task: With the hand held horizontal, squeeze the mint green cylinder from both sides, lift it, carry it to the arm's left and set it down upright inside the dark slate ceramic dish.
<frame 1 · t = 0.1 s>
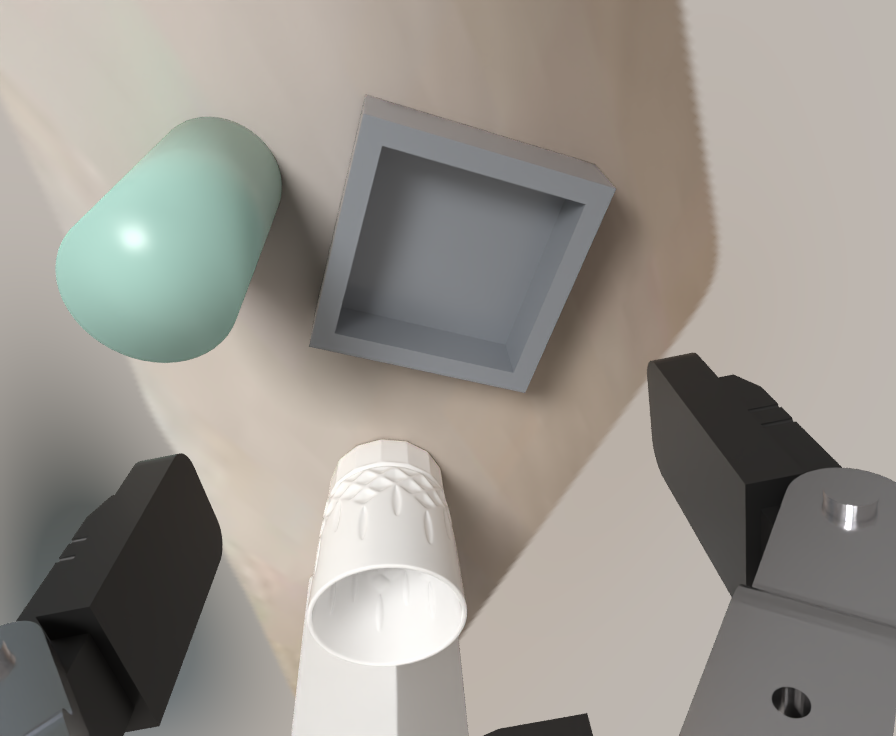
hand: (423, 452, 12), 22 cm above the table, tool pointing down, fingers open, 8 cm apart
mint green cylinder: (219, 180, 31), on the table
white cup: (387, 478, 42), on the table
milk carton: (382, 578, 47), on the table
dish: (448, 241, 33), on the table
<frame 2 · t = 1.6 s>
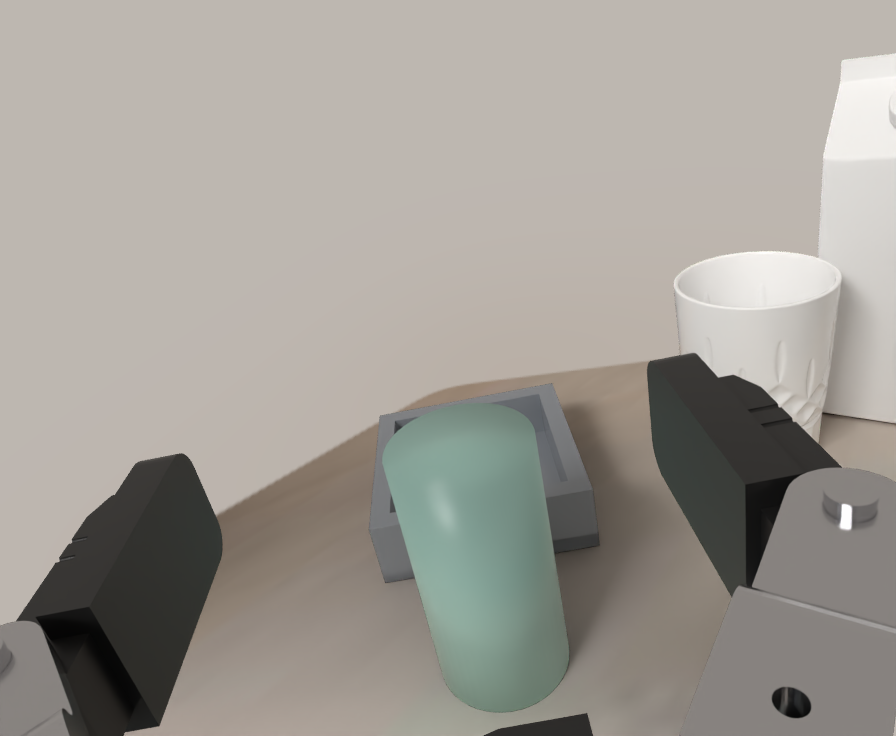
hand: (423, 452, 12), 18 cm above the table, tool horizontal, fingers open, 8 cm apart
mint green cylinder: (504, 653, 29), on the table
white cup: (752, 441, 40), on the table
milk carton: (887, 395, 41), on the table
dish: (482, 497, 39), on the table
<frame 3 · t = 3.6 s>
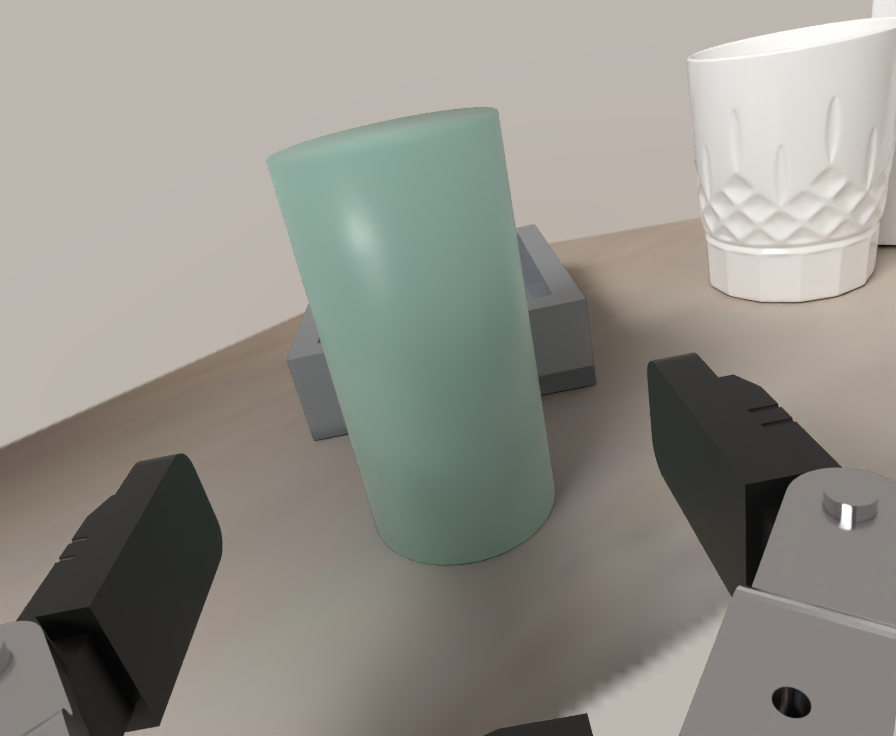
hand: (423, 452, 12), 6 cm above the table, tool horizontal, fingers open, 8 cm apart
mint green cylinder: (464, 500, 21), on the table
white cup: (787, 279, 31), on the table
dish: (446, 353, 31), on the table
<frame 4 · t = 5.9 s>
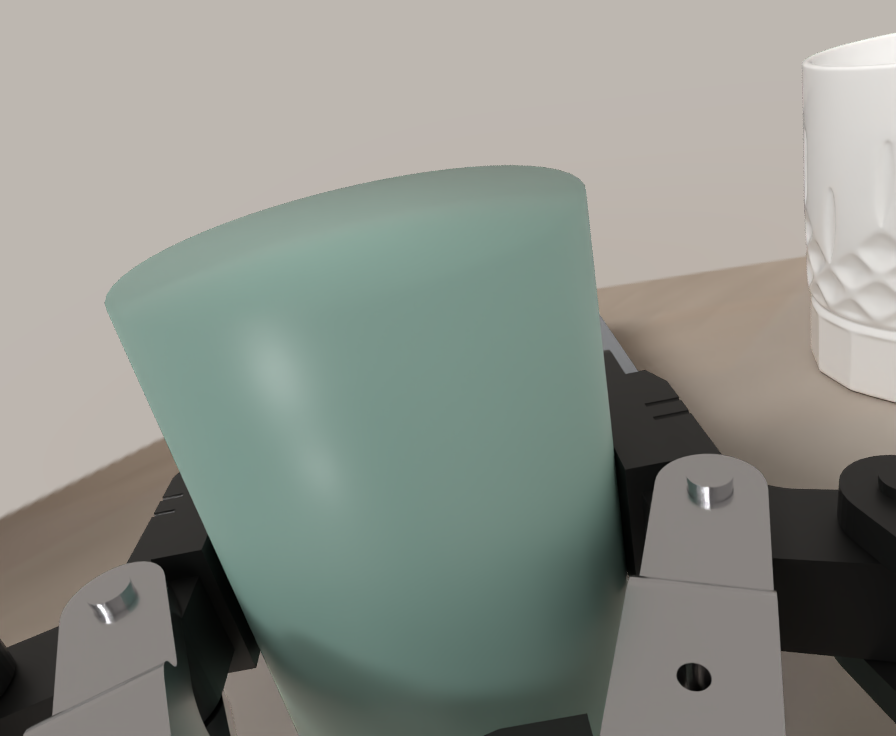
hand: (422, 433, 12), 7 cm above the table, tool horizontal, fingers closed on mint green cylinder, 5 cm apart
dish: (461, 464, 23), on the table
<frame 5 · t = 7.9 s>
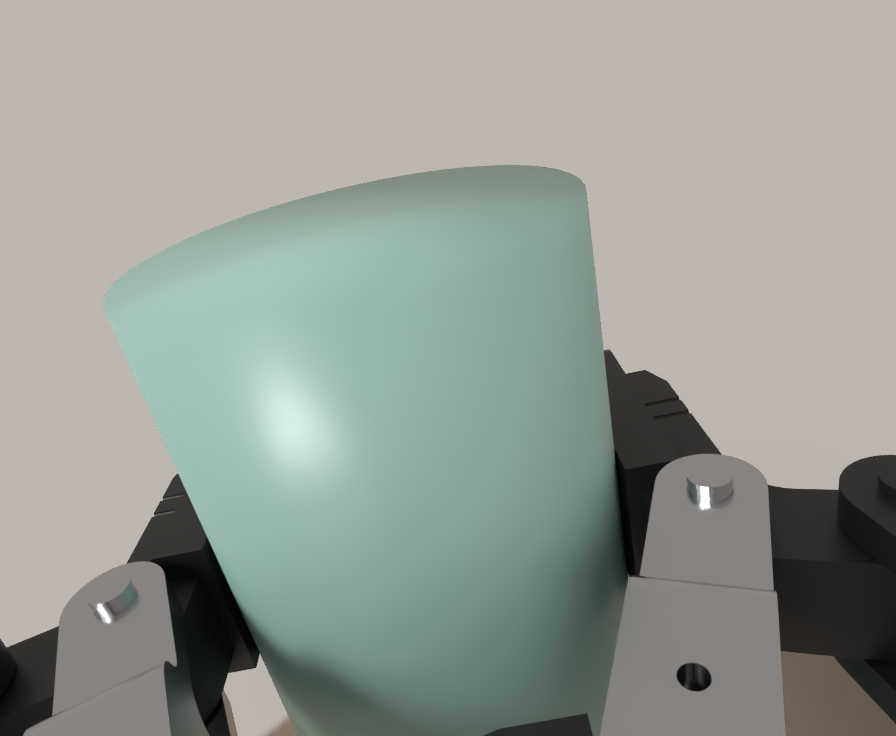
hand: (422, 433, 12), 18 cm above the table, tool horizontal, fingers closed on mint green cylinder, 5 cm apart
when the fingers open (8 cm above the table, at t = 10.4 s): mint green cylinder drops 1 cm, resting on dish.
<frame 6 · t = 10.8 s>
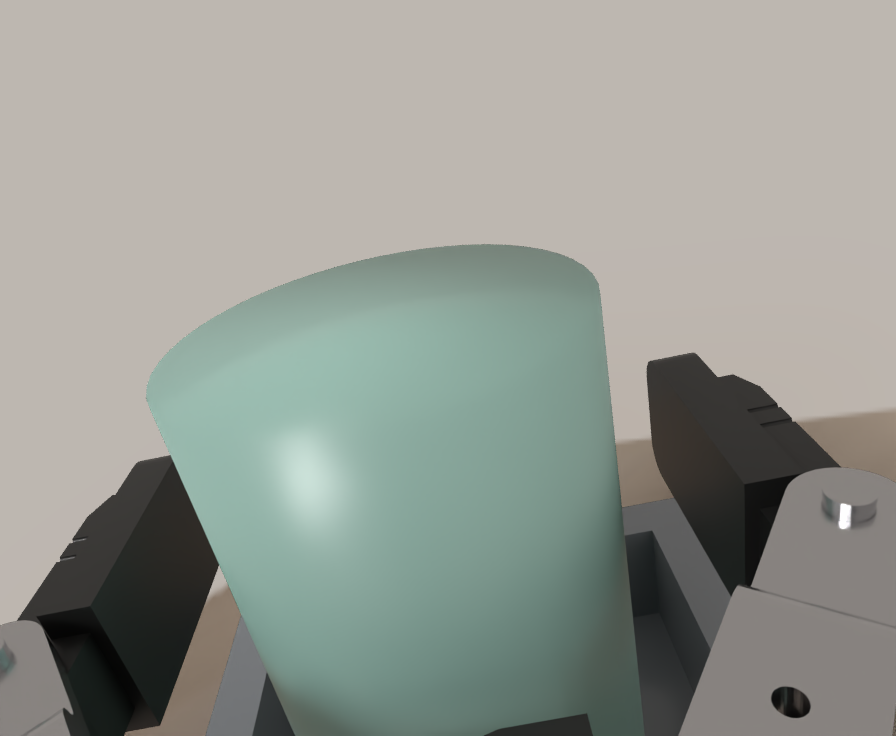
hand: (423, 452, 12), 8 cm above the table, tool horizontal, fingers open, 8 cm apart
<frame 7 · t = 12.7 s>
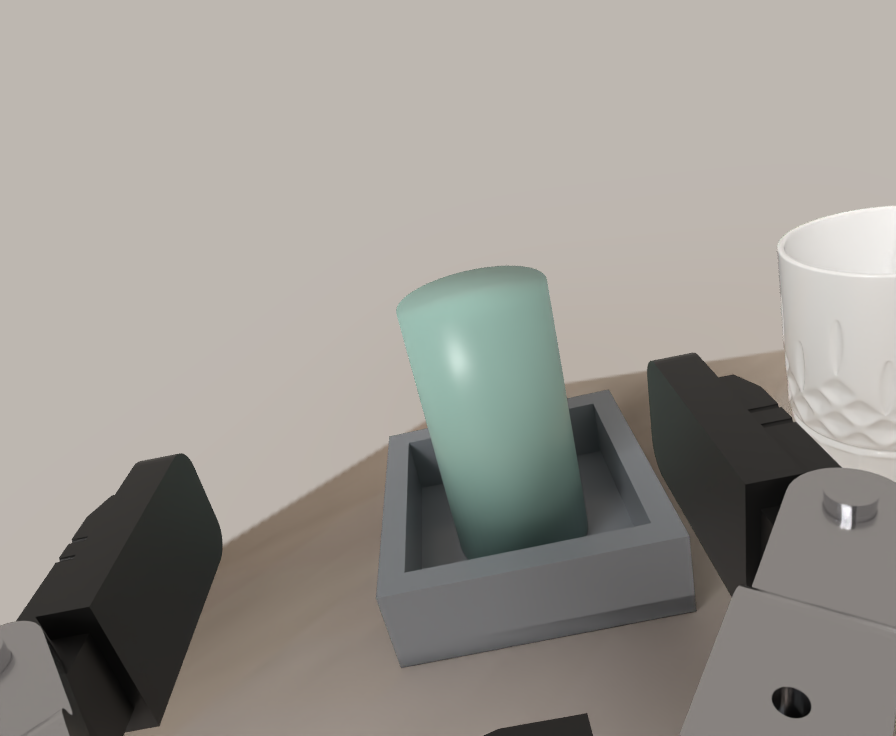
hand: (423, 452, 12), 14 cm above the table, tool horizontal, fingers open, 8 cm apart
mint green cylinder: (522, 528, 29), point 1 cm above the table, touching dish
white cup: (880, 458, 30), on the table
dish: (525, 541, 30), on the table
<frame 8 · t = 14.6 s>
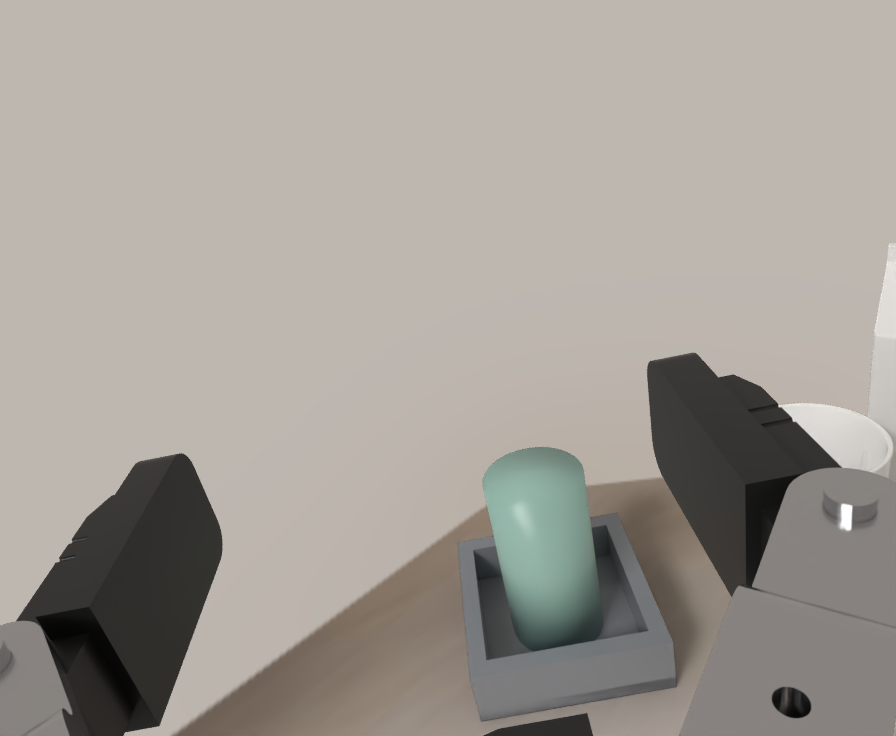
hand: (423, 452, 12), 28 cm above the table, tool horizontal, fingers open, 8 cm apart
mint green cylinder: (557, 619, 42), point 1 cm above the table, touching dish
white cup: (805, 572, 43), on the table
dish: (559, 627, 43), on the table
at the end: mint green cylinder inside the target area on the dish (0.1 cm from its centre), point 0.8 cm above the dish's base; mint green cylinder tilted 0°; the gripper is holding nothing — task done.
